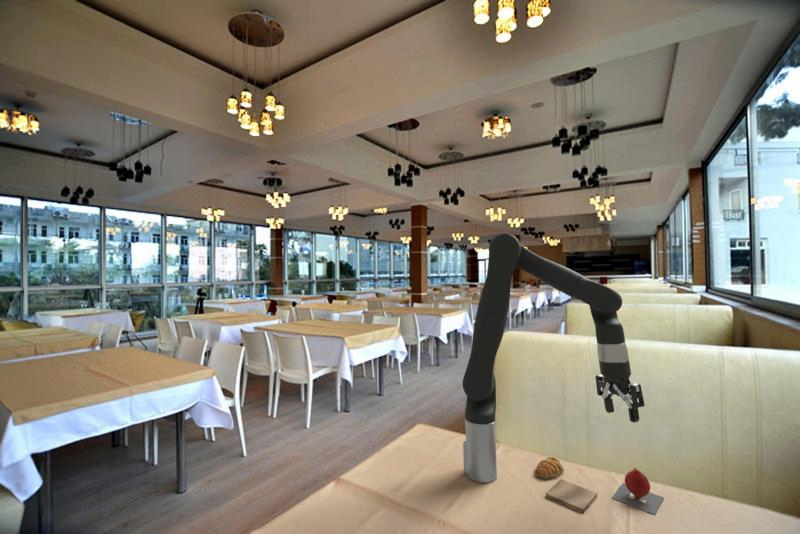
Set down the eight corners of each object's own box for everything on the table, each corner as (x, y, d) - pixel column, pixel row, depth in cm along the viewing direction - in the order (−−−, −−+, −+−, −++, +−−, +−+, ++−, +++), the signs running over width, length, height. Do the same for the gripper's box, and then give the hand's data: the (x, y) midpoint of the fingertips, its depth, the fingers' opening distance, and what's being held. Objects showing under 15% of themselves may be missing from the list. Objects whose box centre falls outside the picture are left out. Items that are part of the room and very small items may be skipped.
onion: (646, 493, 102) (645, 464, 102) (653, 505, 96) (652, 474, 97) (623, 489, 104) (622, 461, 104) (628, 501, 98) (627, 471, 98)
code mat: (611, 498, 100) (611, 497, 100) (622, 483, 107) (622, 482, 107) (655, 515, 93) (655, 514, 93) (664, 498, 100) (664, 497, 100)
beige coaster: (545, 496, 101) (545, 493, 102) (560, 482, 108) (560, 479, 108) (583, 513, 94) (583, 509, 94) (597, 496, 101) (597, 493, 101)
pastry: (550, 484, 108) (549, 470, 108) (529, 475, 113) (529, 462, 113) (565, 472, 114) (565, 460, 114) (545, 464, 119) (544, 452, 119)
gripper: (584, 356, 110) (592, 411, 108) (622, 364, 96) (631, 427, 95) (605, 353, 111) (613, 407, 110) (646, 360, 97) (655, 422, 96)
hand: (622, 416), depth 102 cm, fingers open, 8 cm apart
